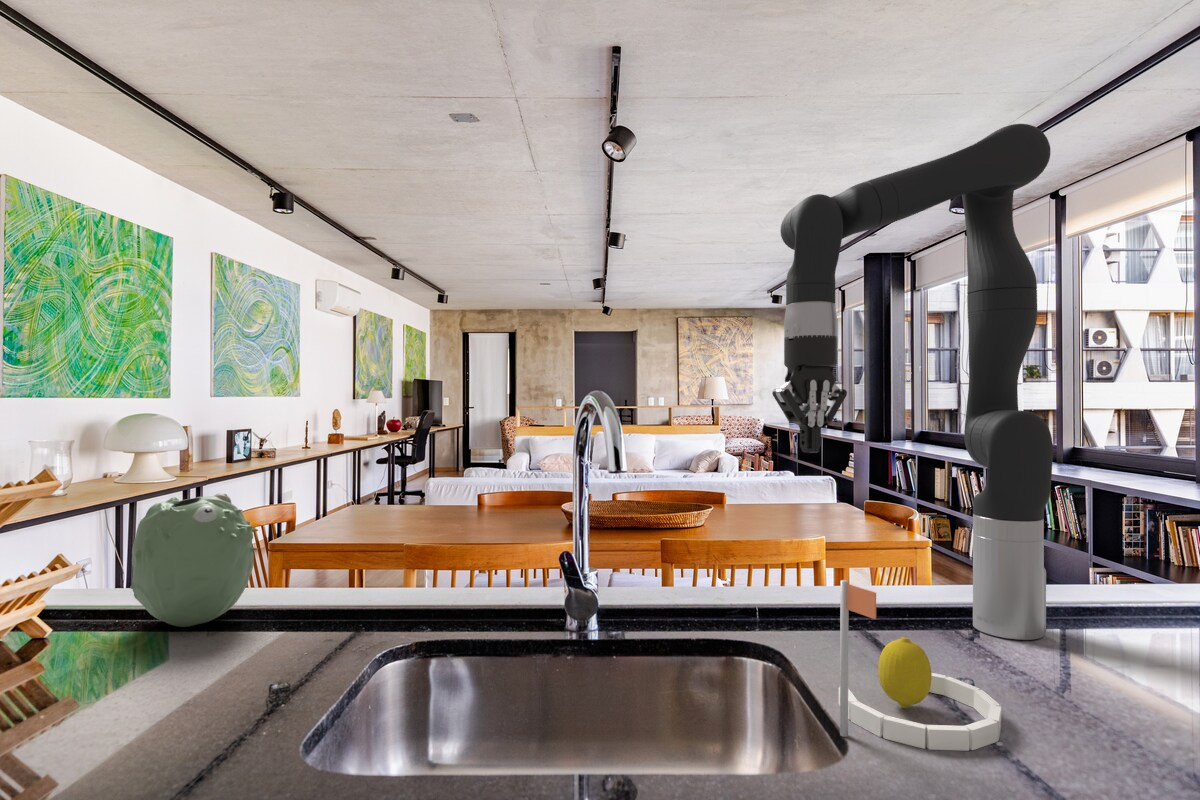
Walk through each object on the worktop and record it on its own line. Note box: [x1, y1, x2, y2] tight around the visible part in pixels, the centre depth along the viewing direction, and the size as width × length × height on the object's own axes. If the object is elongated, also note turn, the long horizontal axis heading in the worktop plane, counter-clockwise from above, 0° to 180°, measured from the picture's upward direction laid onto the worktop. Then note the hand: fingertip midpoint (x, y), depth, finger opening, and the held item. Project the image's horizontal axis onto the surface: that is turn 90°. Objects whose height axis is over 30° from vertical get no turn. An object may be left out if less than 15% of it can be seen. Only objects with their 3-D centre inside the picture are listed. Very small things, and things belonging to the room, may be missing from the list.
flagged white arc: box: [838, 579, 1002, 752], centre depth 75 cm, size 19×14×16 cm
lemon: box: [877, 636, 933, 709], centre depth 79 cm, size 6×6×8 cm
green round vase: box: [129, 493, 259, 628], centre depth 107 cm, size 16×19×20 cm
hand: (810, 452), depth 103 cm, fingers closed
